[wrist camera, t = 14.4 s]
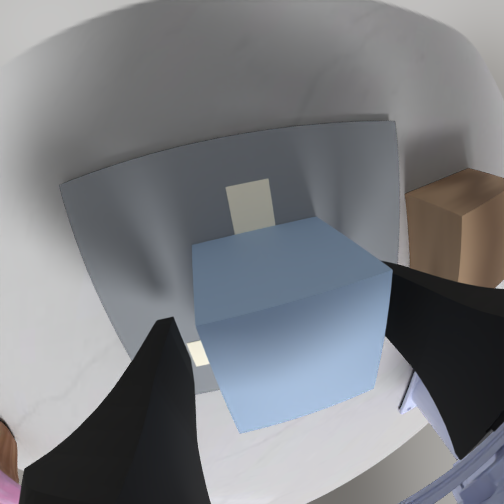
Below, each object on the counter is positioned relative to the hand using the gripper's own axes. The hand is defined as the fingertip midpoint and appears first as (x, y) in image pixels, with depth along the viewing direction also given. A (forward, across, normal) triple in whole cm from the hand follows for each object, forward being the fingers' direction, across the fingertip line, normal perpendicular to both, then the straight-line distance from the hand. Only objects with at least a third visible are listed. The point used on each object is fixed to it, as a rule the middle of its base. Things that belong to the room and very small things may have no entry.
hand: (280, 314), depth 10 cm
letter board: (+3, 0, 0) cm, 3 cm away
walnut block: (+3, -11, 0) cm, 12 cm away
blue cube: (+2, 0, 0) cm, 2 cm away
